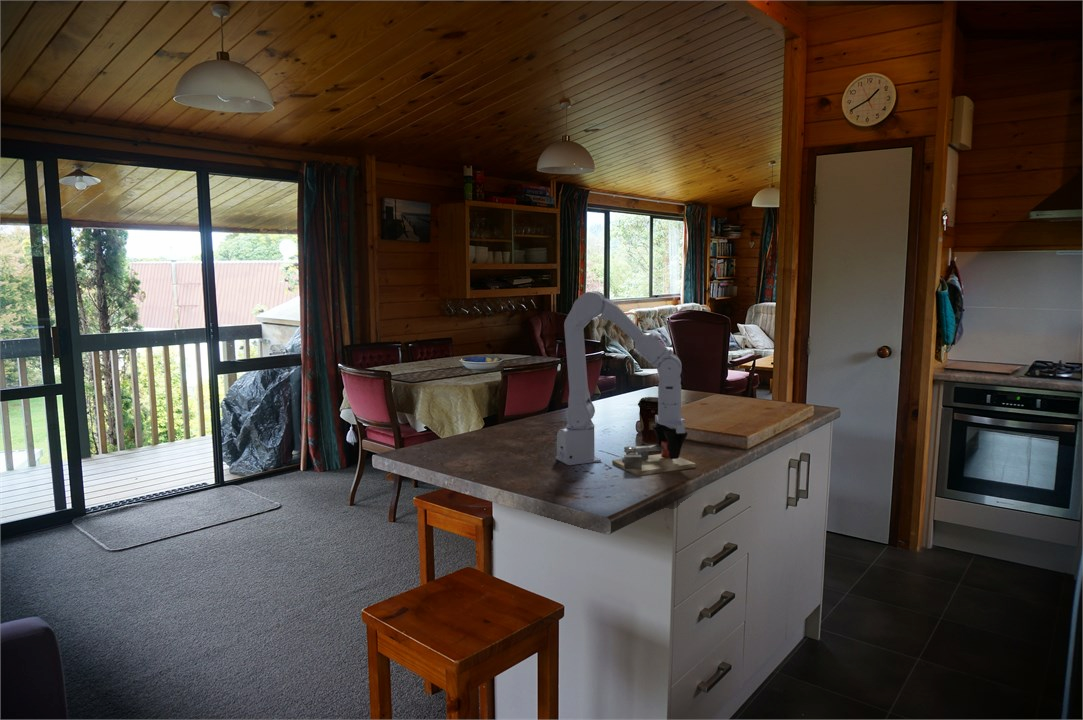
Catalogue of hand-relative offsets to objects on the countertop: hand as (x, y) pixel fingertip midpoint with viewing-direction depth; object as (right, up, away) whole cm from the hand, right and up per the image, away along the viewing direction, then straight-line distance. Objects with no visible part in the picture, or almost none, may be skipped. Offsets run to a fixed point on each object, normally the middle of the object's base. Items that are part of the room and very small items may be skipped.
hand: (669, 455), depth 179 cm
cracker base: (-5, -2, -2) cm, 6 cm away
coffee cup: (-1, 0, +23) cm, 23 cm away
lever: (-5, -1, +1) cm, 5 cm away
